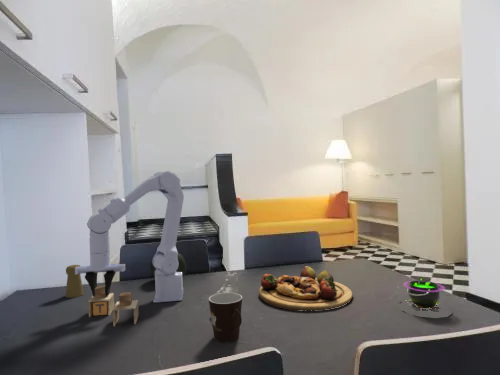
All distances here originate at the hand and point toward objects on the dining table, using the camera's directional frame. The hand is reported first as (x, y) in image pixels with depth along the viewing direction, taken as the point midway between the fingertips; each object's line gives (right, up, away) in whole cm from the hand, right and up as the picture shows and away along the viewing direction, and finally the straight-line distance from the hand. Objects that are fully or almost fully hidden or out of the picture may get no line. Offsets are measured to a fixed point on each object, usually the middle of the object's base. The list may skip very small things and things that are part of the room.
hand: (101, 295), depth 108 cm
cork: (-18, -6, +19) cm, 26 cm away
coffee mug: (+41, -5, -21) cm, 46 cm away
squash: (+13, -5, +34) cm, 37 cm away
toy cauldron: (+99, -3, -4) cm, 99 cm away
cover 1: (0, -5, 0) cm, 5 cm away
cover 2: (+11, -5, -7) cm, 14 cm away
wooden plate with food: (+66, -4, +12) cm, 67 cm away
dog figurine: (+39, -5, +1) cm, 40 cm away
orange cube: (0, -6, 0) cm, 6 cm away
